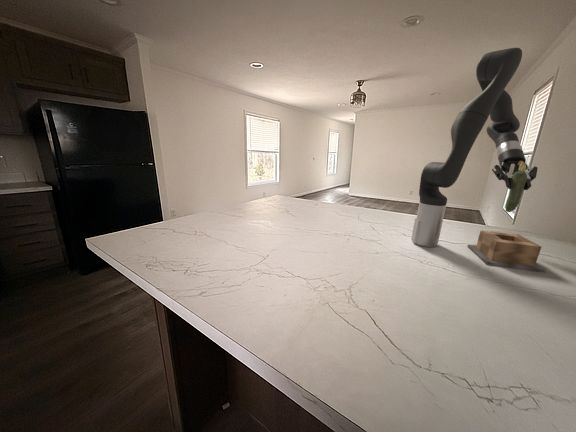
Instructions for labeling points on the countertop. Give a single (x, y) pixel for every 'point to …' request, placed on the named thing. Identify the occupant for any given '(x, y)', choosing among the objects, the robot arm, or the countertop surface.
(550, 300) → the countertop surface
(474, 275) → the countertop surface
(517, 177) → the vegetable
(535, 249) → the holder
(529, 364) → the countertop surface
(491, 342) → the countertop surface
